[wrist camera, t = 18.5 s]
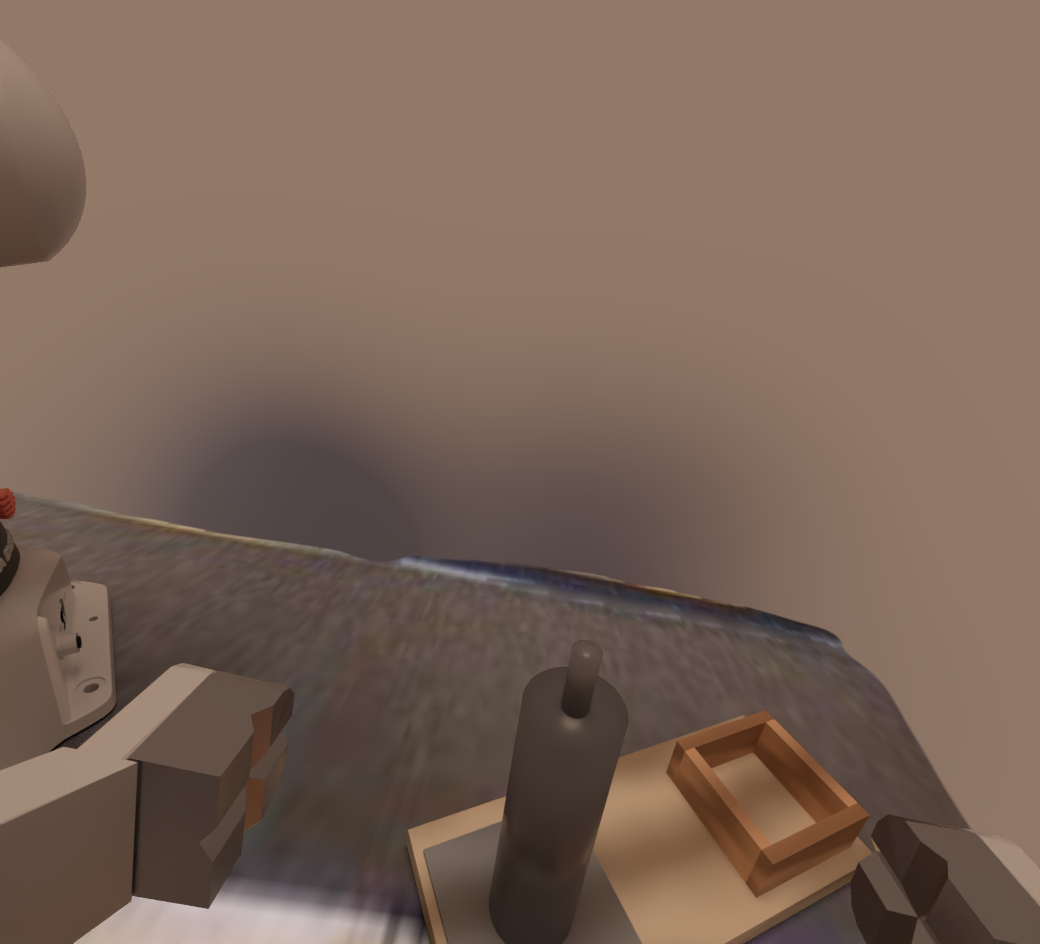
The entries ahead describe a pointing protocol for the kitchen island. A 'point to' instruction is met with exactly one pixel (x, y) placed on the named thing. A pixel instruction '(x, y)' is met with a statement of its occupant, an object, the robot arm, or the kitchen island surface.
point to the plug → (555, 797)
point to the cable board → (671, 845)
